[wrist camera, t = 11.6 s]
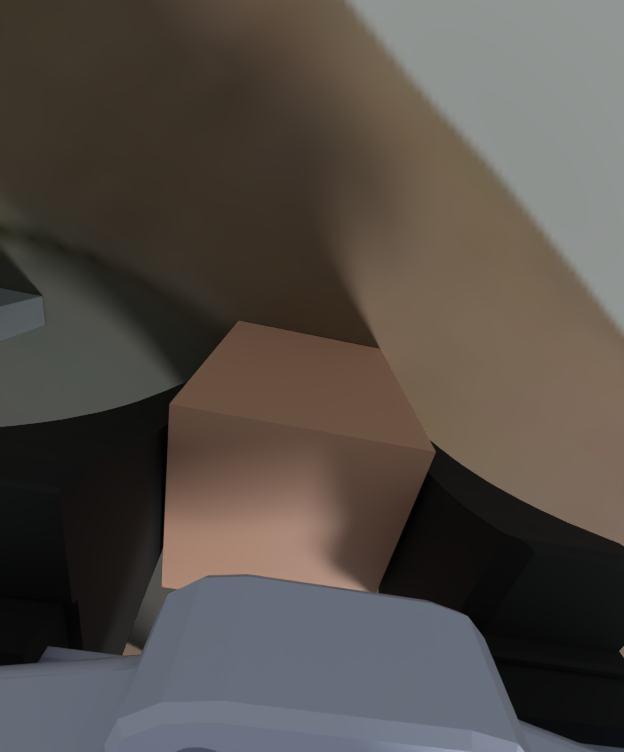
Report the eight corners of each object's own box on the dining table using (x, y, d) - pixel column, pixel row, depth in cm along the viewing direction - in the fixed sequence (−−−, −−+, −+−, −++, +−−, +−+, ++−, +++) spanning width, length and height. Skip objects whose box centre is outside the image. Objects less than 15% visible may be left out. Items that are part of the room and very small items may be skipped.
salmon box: (345, 462, 14) (366, 615, 8) (224, 440, 14) (162, 586, 8) (380, 348, 12) (436, 452, 6) (238, 320, 12) (169, 403, 6)
